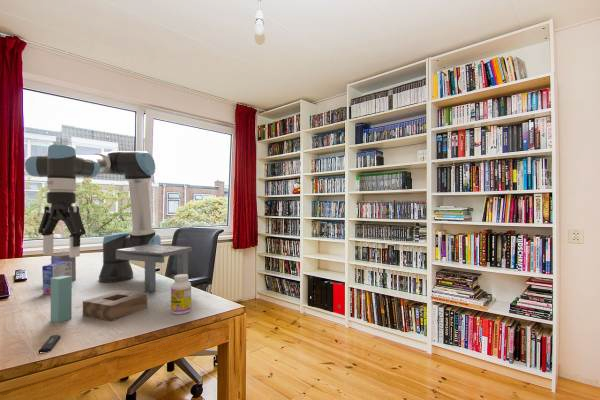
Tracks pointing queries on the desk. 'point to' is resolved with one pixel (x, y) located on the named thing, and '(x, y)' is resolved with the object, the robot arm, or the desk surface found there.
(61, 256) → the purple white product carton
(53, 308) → the peg
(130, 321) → the desk surface
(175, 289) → the supplement bottle
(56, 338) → the usb stick
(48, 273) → the ink cartridge box
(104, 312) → the socket block
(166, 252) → the grey step stool
